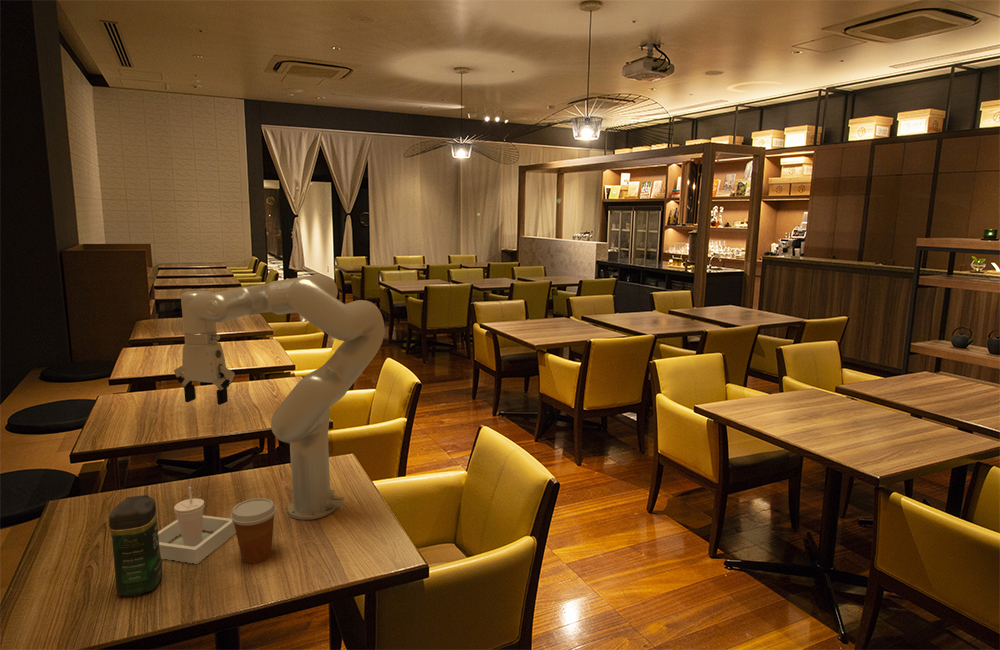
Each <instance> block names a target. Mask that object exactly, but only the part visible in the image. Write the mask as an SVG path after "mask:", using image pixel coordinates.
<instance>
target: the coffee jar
mask: <svg viewBox="0 0 1000 650" xmlns="http://www.w3.org/2000/svg"><path fill="white" fill-rule="evenodd" d="M108 520H109V531H110V535H111V536H110V537H111V543H112V553H113V555H112V556H113V561H114V562H113V563H114V575H115V577H114V578H115V579H114V580H115V588H116V590H115V591H116V593H117V595H118V596H123V597H124V596H125V597H135V596H140V595H143V594H144V593H147V592H151V591H153V590H154V589H155V588H156V587H157V585H158V584H159V582H160V581H161V578H162V575H163V564H162V559H161V555H160V547H159V537H158V532H159V530H158V512H157V505H156V500H155V499H154V498H153V497H151V496H150V495H147V494H144V495H136V496H135V495H134V496H127V497H126V498H125V499H123V500H122V501H120V502H119V503H117V505H116V506H115V507H114V508H113V509H112V511H111V512H110V514H109V516H108Z"/></svg>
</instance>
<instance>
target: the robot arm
mask: <svg viewBox="0 0 1000 650" xmlns="http://www.w3.org/2000/svg"><path fill="white" fill-rule="evenodd" d="M338 294H339V291H338V286H337V284H336V282H335V281H334V279H332V278H331V277H330V276H327V275H323V274H315V275H313V274H312V275H307V276H298V277H294V278H287V279H286V278H285V279H280V280H273V281H269V282H268V283H265V284H264V283H263V284H257V285H251V286H244V287H238V288H231V289H226V290H222V291H216V292H211V291H209V290H189V291H186V292H183V293H182V294H181V296H180V301H181V315H182V323H183V326H182V327H183V333H184V334H183V335H184V344H183V346H182V357H181V358H182V359H181V364H182V365H180V366H179V367H177V368H175V369H174V370H173V373H174V374H175V377H176V379H177V381H178V382H179V384H180V386H181V388H183V392H184V401H185V403H189V402H193V401H194V400H196V398H197V397H196V387H195V384H194V382H195V383H196V382H197V383H213V384H214V385H215V387H216V388H217V389H216V400H217V402H216V403H217V405H218V406H219V405H220V406H221V405H224V404H225V403H227V402H228V401H229V400H228V399H229V398H228V388H229V387H230V385H231V384H232V383H233V380H234V377H235V375H236V374H235V372H234V371H232V370H231V369H229V368H227V364H226V358H225V354H224V350H223V346H222V344H221V342H218V341H219V340H220V339H221V336H220V334H217V332H218V331H217V323H223V322H228V321H231V320H234V319H237V318H242V317H245V316H250V315H257V314H264V313H273V314H274V315H277V316H278V315H287V314H292V313H295V314H296V313H297V314H298V315H299V316H301V317H302V318H304V319H305V320H306V321H308V322H309V323H311V324H312V325H314V326H315V327H316V328H318V329H320V330H321V331H323V332H324V333H325V334H327V335H328V336H330V338H331V337H332V338H333V339H335V340H338V341H342V342H341V344H340V345H339V346H338V347H337V349H336V350H334V351H335V352H334V353H333V354H332V355H331V356H330V357H329V359H328V360H327V361H326V362H325V363H324V364H323V365H322V366H320V367H319V368H317V369H314V370H313V371H311V372H310V373H308V374H306V375H305V376H304V377H303V378H301V379H300V380H299V381H298V382H297V384H295V386H294V387H293V388H292V389H291V391H290V392H289V393H288V394H287V396H286V397H285V398H284V399H283V401H281V403H280V404H279V406H277V408H276V410H274V413H273V414H272V416H271V420H270V421H271V422H270V428H271V432H272V433H273V435H274V436H275V438H277V440H279V441H280V442H283V443H288V444H289V453H290V468H291V484H292V485H291V486H292V501H291V502H290V503H289V504H288V505H287V514H288V516H289V517H291V518H293V519H296V520H302V521H308V520H309V521H310V520H311V521H312V520H317V519H320V518H324V517H327V516H329V515H331V514H332V513H333V512H335V510H337V509H343V507H344V504H345V503H344V497H343V496H336V495H335V489H331V478H330V477H331V476H330V474H331V473H330V457H329V456H330V455H329V454H330V453H329V428H330V427H329V425H330V417H331V416H330V415H331V413H330V411H331V410H330V408H331V407H333V406H334V405H335V404H336V403H338V402H339V401H340V400H341V399H343V397H345V395H346V394H347V393H348V391H349V390H350V388H351V387H352V386H353V384H354V383H355V382H357V380H358V379H359V377H360V376H361V375H362V373H363V372H364V371H365V369H366V368H367V367H368V366H369V364H370V363H371V361H373V359H374V358H375V356H376V354H378V352H379V350H380V348H381V347H382V344H383V341H384V337H385V322H384V318H383V317H384V316H383V315H382V313H381V310H380V309H379V308H378V307H377V305H375V304H374V303H373V302H372V301H369V300H366V299H365V300H363V299H361V300H360V299H357V300H354V301H350V302H347V303H344V302H342V301H341V300H339V299H338Z"/></svg>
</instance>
